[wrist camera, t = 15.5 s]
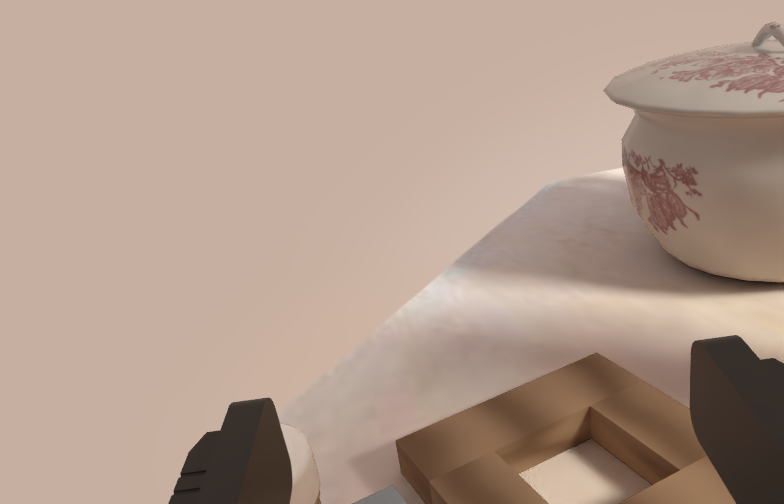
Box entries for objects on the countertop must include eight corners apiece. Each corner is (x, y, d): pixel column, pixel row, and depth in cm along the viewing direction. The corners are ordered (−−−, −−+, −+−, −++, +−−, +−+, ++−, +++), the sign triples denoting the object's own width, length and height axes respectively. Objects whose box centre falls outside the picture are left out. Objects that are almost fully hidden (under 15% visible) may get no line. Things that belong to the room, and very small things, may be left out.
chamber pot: (849, 365, 47) (887, 56, 39) (550, 263, 68) (536, 52, 61) (1007, 234, 60) (1059, -16, 52) (714, 184, 82) (720, 2, 74)
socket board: (598, 382, 49) (596, 352, 48) (809, 521, 35) (814, 483, 34) (401, 472, 44) (395, 440, 43) (562, 678, 30) (559, 638, 29)
